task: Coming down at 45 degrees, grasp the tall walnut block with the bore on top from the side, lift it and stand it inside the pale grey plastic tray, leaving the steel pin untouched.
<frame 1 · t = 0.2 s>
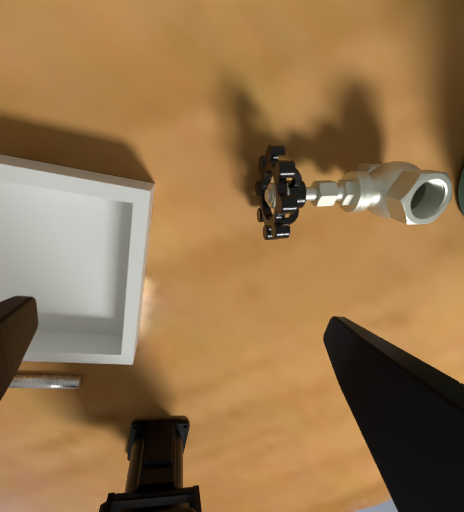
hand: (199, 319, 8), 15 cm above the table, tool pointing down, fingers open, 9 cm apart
tray: (47, 259, 21), on the table
valve: (322, 184, 23), on the table
steel pin: (42, 378, 26), on the table, tilted 19°
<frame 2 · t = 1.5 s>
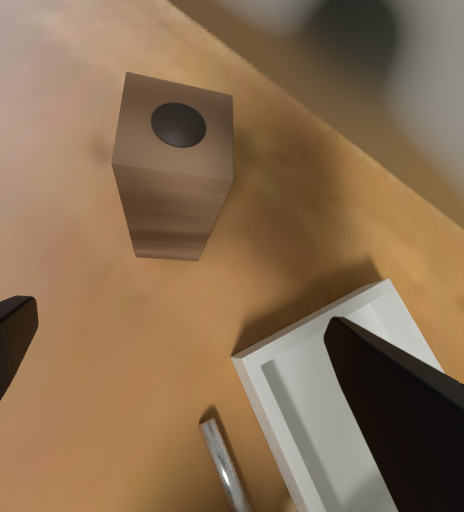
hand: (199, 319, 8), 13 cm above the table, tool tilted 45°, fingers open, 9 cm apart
tray: (347, 401, 22), on the table
walnut block: (169, 231, 23), on the table
steel pin: (234, 467, 18), on the table, tilted 101°
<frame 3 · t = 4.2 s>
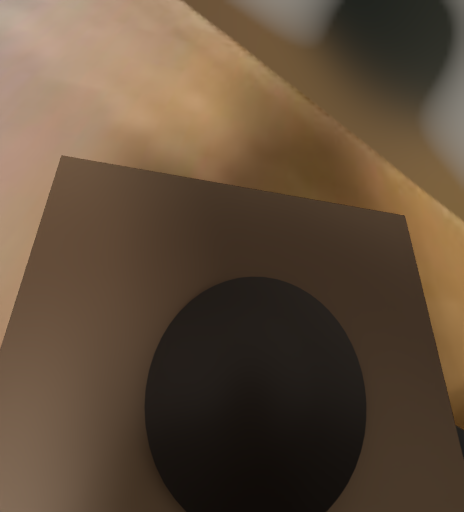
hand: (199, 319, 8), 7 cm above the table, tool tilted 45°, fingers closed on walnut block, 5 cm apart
walnut block: (179, 363, 14), on the table, touching gripper
when the fingers open (9 cm above the table, at t = 8.0 s): walnut block drops 1 cm, resting on tray.
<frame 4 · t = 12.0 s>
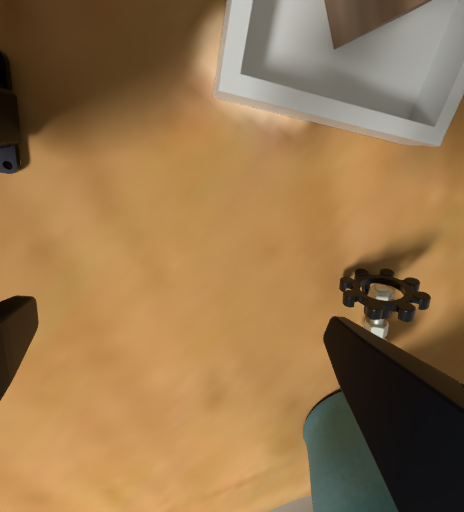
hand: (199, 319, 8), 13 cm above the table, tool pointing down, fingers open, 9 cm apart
flower pot: (343, 414, 35), on the table
valve: (352, 317, 28), on the table
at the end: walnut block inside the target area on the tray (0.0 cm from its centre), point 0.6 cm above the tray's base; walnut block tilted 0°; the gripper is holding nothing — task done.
